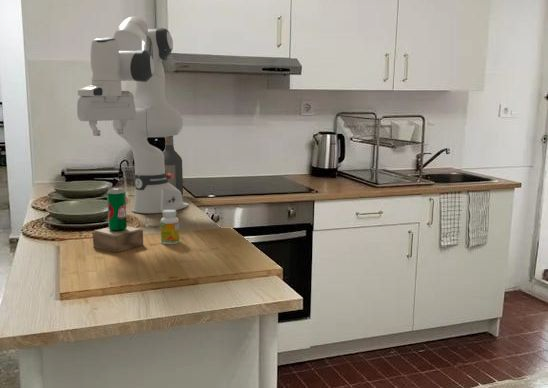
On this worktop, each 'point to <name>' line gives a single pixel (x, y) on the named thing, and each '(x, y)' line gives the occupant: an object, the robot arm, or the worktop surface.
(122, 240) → the walnut block
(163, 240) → the supplement bottle
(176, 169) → the liquor
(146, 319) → the worktop surface
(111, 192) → the soda can
